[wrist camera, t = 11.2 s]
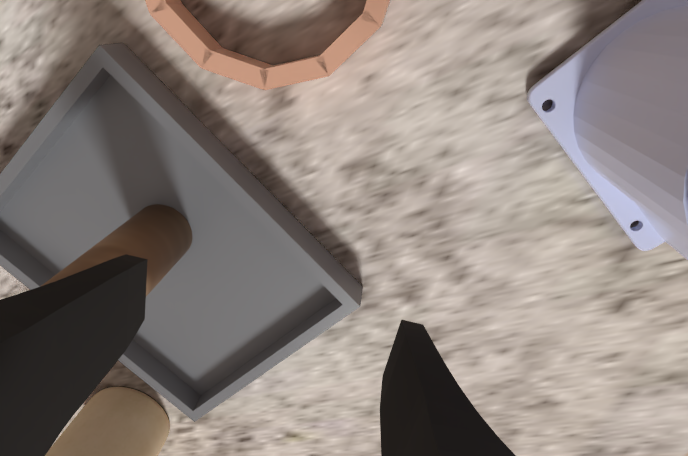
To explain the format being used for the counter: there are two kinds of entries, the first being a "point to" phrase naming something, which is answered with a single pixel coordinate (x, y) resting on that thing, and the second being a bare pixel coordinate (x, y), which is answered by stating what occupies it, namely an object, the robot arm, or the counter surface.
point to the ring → (253, 72)
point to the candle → (115, 426)
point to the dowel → (141, 244)
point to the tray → (202, 215)
